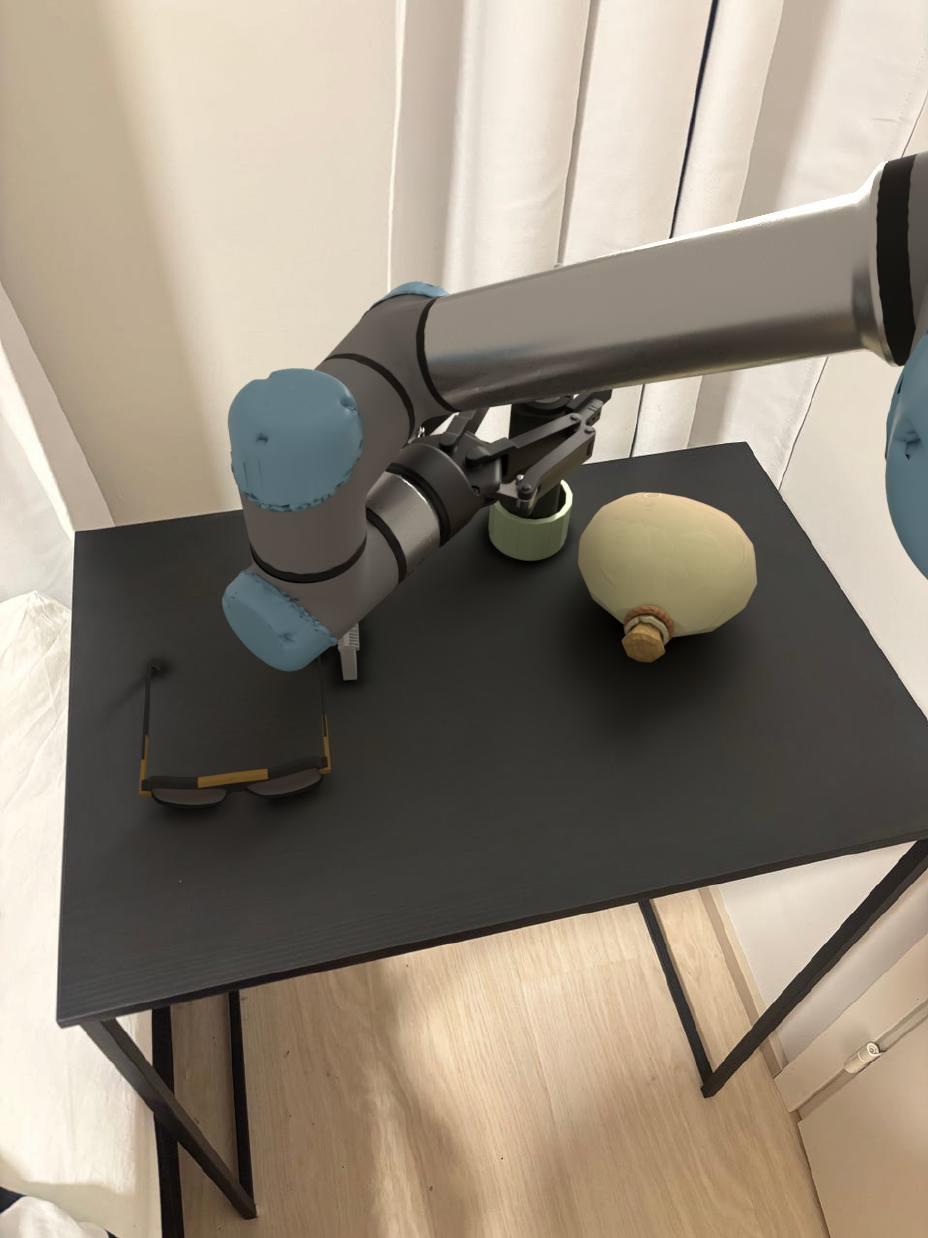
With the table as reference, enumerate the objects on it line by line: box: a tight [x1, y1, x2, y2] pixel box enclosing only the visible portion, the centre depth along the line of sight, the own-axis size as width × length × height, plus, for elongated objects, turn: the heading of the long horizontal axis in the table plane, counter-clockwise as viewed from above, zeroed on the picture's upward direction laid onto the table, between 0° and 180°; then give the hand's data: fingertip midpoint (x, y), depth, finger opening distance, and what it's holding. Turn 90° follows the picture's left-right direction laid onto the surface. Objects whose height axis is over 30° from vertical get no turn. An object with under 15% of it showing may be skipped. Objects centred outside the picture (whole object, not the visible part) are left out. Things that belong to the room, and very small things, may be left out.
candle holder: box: [487, 479, 573, 562], centre depth 89 cm, size 8×8×5 cm
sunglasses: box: [138, 654, 332, 810], centre depth 73 cm, size 14×15×5 cm
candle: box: [502, 262, 575, 520], centre depth 78 cm, size 5×5×25 cm
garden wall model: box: [337, 622, 360, 681], centre depth 80 cm, size 12×2×6 cm, turn 6°
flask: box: [577, 491, 758, 663], centre depth 81 cm, size 9×16×18 cm
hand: (576, 368), depth 80 cm, fingers closed on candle, 6 cm apart
